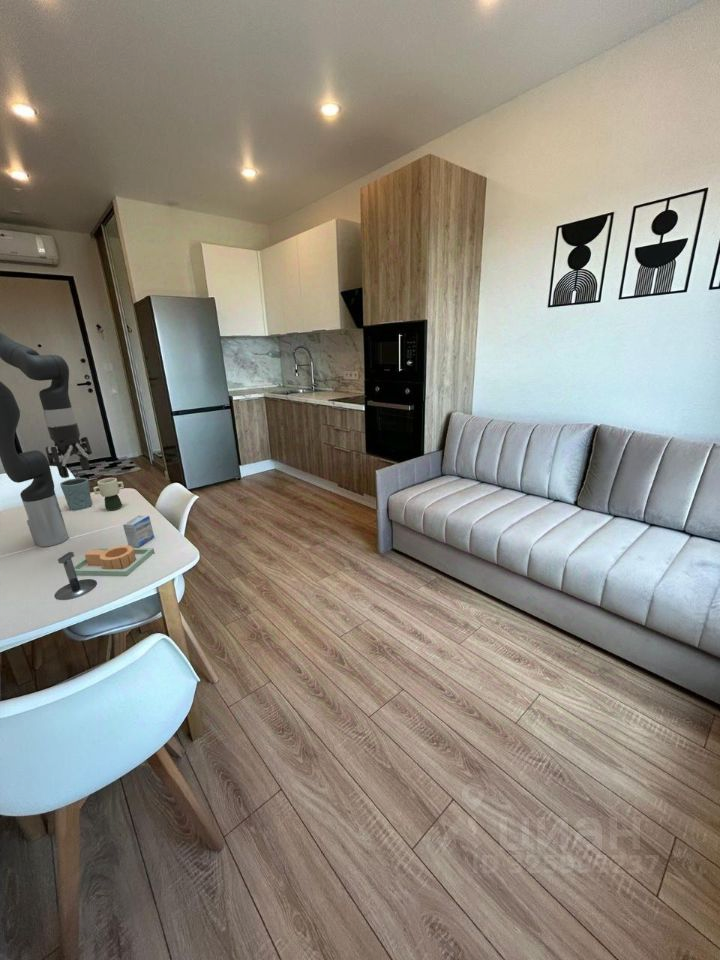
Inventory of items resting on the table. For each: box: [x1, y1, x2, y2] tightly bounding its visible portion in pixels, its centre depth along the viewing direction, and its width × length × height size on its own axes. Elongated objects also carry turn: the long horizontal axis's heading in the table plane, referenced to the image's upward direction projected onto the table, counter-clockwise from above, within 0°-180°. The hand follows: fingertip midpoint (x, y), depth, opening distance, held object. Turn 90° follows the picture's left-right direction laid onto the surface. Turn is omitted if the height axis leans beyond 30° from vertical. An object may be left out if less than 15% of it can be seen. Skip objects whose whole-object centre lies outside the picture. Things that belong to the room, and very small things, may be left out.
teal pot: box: [59, 477, 93, 512], centre depth 171 cm, size 10×10×12 cm
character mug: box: [93, 477, 125, 511], centre depth 167 cm, size 11×7×13 cm, turn 128°
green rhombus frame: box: [73, 547, 156, 577], centre depth 123 cm, size 19×14×2 cm
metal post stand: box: [54, 551, 98, 601], centre depth 108 cm, size 10×10×12 cm
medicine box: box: [122, 514, 155, 548], centre depth 137 cm, size 8×4×9 cm, turn 168°
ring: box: [84, 544, 137, 570], centre depth 122 cm, size 14×9×4 cm, turn 85°
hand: (75, 473), depth 125 cm, fingers open, 8 cm apart
